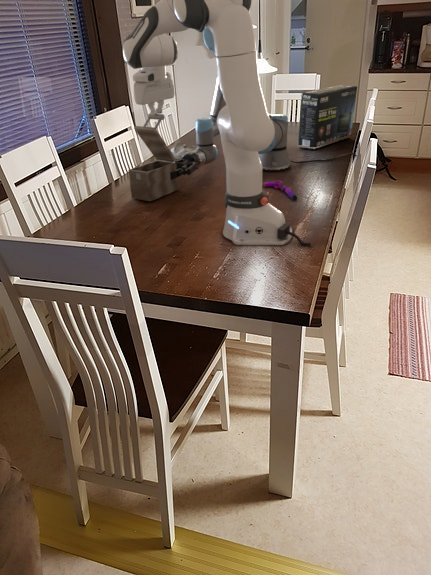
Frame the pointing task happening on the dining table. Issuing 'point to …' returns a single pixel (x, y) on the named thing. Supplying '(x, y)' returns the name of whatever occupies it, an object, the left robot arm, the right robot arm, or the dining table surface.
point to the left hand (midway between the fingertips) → (156, 114)
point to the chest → (152, 180)
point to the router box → (326, 115)
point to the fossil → (181, 150)
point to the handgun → (281, 185)
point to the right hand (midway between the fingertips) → (161, 174)
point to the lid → (155, 139)
